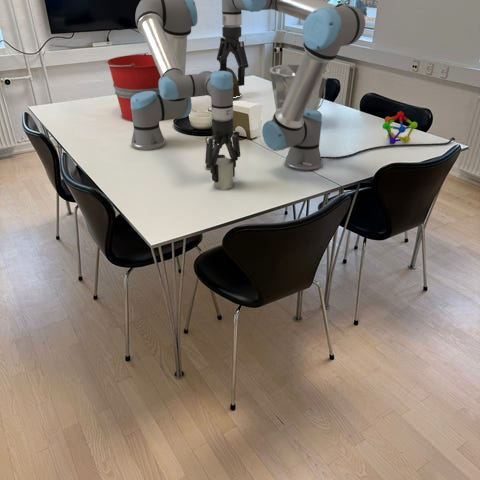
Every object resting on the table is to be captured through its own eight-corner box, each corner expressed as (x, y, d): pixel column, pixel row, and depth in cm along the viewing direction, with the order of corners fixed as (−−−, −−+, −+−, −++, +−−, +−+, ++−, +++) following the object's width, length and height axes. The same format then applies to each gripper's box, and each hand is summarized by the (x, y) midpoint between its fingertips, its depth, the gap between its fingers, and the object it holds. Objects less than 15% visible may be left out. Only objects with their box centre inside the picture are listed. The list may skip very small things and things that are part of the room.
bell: (227, 105, 294) (202, 96, 282) (238, 66, 289) (213, 55, 277) (243, 108, 280) (217, 98, 268) (255, 66, 275) (229, 55, 263)
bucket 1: (121, 106, 263) (114, 51, 247) (180, 106, 262) (176, 52, 246) (104, 123, 233) (95, 63, 217) (170, 124, 232) (166, 64, 216)
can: (223, 191, 165) (223, 166, 160) (210, 185, 169) (209, 161, 164) (237, 185, 169) (237, 161, 164) (223, 180, 174) (223, 156, 168)
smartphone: (205, 167, 182) (208, 154, 195) (205, 169, 182) (208, 155, 195) (223, 168, 182) (225, 154, 194) (223, 169, 182) (225, 156, 195)
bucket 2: (296, 138, 215) (301, 78, 201) (255, 124, 234) (256, 68, 219) (335, 125, 232) (342, 70, 217) (294, 113, 251) (297, 61, 236)
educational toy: (377, 146, 209) (379, 114, 202) (384, 138, 219) (386, 107, 211) (411, 149, 202) (415, 116, 195) (417, 141, 212) (420, 109, 204)
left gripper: (205, 126, 148) (207, 188, 160) (251, 115, 158) (250, 174, 171) (192, 121, 152) (195, 182, 165) (238, 111, 163) (237, 168, 175)
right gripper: (207, 23, 180) (209, 77, 191) (241, 30, 162) (241, 89, 174) (223, 22, 184) (224, 75, 195) (258, 28, 166) (256, 87, 177)
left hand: (223, 178), depth 168 cm, fingers closed on can, 7 cm apart
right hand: (232, 82), depth 184 cm, fingers open, 13 cm apart
